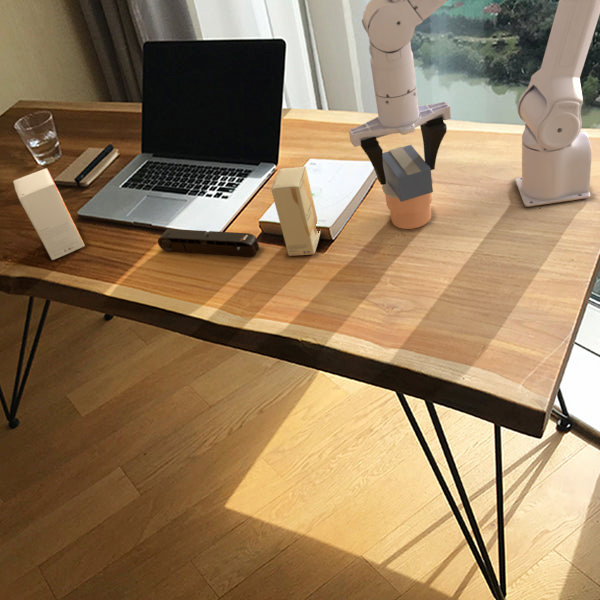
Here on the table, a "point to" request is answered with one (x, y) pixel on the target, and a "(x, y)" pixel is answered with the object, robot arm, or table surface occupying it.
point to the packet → (407, 173)
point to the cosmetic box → (296, 210)
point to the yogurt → (408, 209)
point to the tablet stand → (209, 242)
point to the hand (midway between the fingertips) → (406, 174)
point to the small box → (48, 213)
